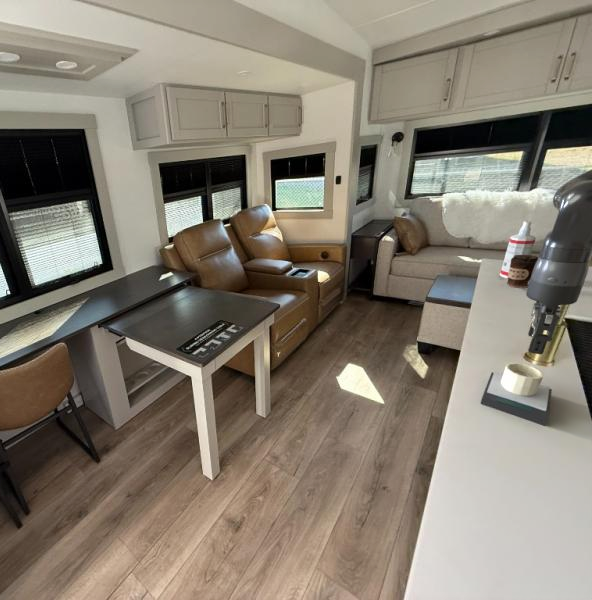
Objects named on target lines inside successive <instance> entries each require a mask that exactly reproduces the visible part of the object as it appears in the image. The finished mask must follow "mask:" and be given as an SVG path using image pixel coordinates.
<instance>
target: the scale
mask: <svg viewBox="0 0 592 600" xmlns="http://www.w3.org/2000/svg"><path fill="white" fill-rule="evenodd" d="M503 374H504V373H502V372H497V371H494V372H493V371H492V372H490V376H489V378H488V381H487V383H486V386H485V388H484V391H483V394H482V396H481V400H480V403H481V404H480V405H483V406H486V407H488V406H489V407H488V408H492V409H493V410H497V411H500V412H503V413H506V414H509V415H512V416H515V417H517V418H519V419H520V418H521V419H524V420H527V421H530V422H532V423H535V424H538V425H541V426H546V424H547V422H548V420H549V414H550V408H551V407H550V406H551V398H552V390H553V389H552V388H550V386H547V385H543V384H540V386H539V389H538V391H537V393H536V394H534V395H531V396H521V395H517V394H514V393H512V392H510V391H508V390H506V389H505V388H504V387H503V386H502V384H501V380H502V377H503Z"/></svg>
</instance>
